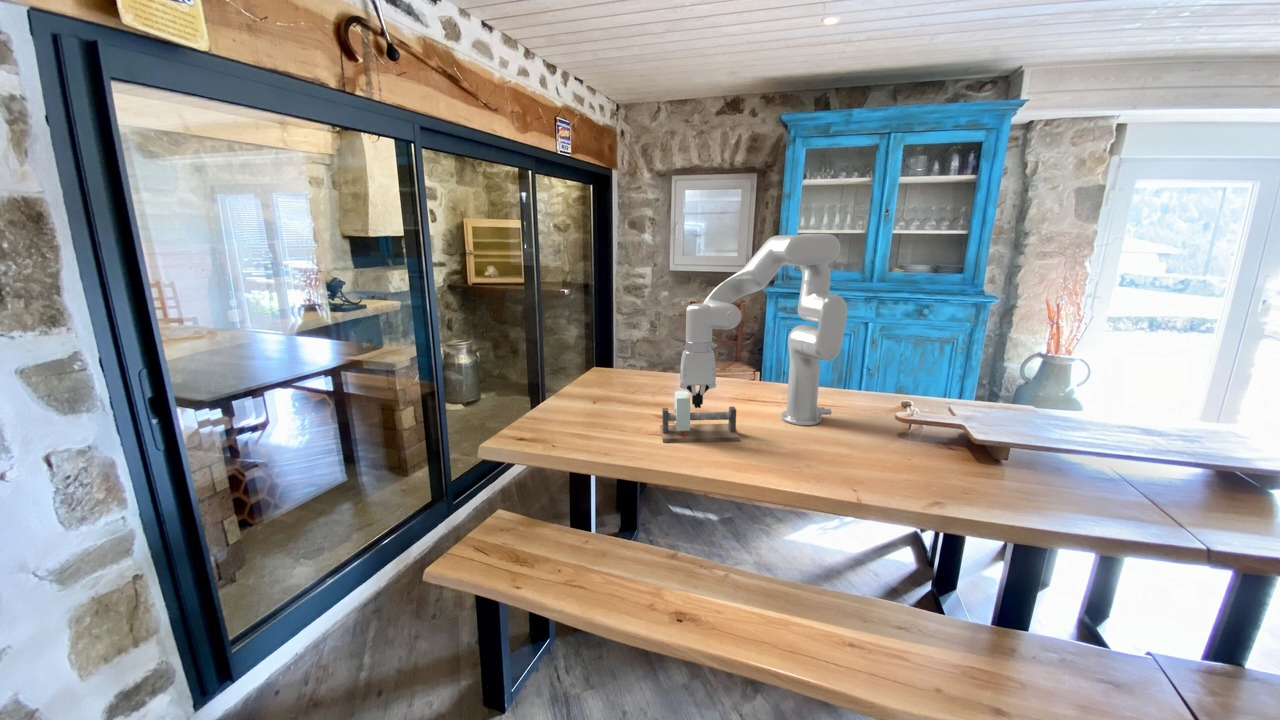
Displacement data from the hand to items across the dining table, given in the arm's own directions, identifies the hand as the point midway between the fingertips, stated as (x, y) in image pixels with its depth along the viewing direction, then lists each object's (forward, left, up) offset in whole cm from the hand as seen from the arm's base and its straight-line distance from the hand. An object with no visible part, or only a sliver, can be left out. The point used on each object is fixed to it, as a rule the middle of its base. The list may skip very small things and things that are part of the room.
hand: (697, 406), depth 150 cm
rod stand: (-1, -3, -10) cm, 10 cm away
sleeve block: (+4, -3, -7) cm, 9 cm away
